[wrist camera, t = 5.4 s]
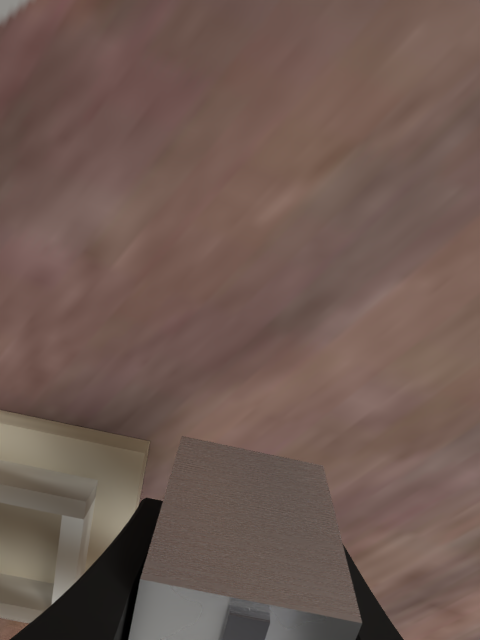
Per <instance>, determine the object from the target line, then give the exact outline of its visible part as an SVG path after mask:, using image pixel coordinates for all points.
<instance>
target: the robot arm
mask: <svg viewBox="0 0 480 640" xmlns="http://www.w3.org/2000/svg"><path fill="white" fill-rule="evenodd" d="M162 503H163V501H160V500H155V499H150V498H145V499H143V500H142V501H141V503H140V504H139V506H138V508H137V509H136V511H135V512H134V514H133V515H132V517H131V518H130V520H129V521H128V522H127V524H126V525H125V526H124V528H123V529H122V530H121V532H120V533H119V534H118V535H117V537H116V538H115V539H114V540H113V542H112V543H111V544H110V545H109V546H108V548H107V549H106V550H105V551H104V552H103V553H102V555H101V556H100V557H99V558H98V559H97V560H96V561H95V562H94V563H93V564H92V565H91V567H90V568H89V569H88V570H87V571H86V572H85V573H84V574H83V575H82V576H81V577H80V578H79V579H78V580H77V581H76V582H75V583H74V584H73V585H72V586H71V587H70V588H69V589H68V590H67V591H66V592H65V593H64V594H63V595H62V596H61V597H60V598H58V599H57V600H56V601H55V602H54V603H53V604H52V605H51V606H50V607H49V608H47V609H46V610H45V611H44V612H43V613H42V614H40V615H39V616H38V617H37V618H36V619H35V620H33V621H32V622H31V623H30V624H29V625H27V626H26V627H25V628H24V629H22V630H21V631H20V632H19V633H18V634H16V635H15V636H14V637H12V638H11V639H10V640H128V639H129V634H130V629H131V624H132V619H133V613H134V608H135V603H136V598H137V593H138V588H139V583H140V578H141V575H142V571H143V568H144V564H145V561H146V558H147V554H148V551H149V547H150V544H151V541H152V537H153V534H154V530H155V527H156V523H157V520H158V517H159V513H160V510H161V506H162ZM342 544H343V543H342ZM343 548H344V552H345V556H346V560H347V564H348V568H349V572H350V576H351V580H352V584H353V588H354V592H355V596H356V600H357V604H358V608H359V612H360V616H361V620H362V625H361V628H360V630H359V633H358V635H357V637H356V640H403V638H402V637H401V635H400V634H399V633H398V631H397V630H396V628H395V627H394V625H393V624H392V623H391V621H390V620H389V618H388V617H387V615H386V614H385V612H384V611H383V609H382V607H381V606H380V604H379V603H378V601H377V600H376V598H375V596H374V595H373V593H372V592H371V590H370V589H369V587H368V585H367V584H366V582H365V580H364V579H363V577H362V575H361V574H360V572H359V570H358V569H357V567H356V565H355V564H354V562H353V560H352V559H351V557H350V555H349V553H348V552H347V550H346V548H345V547H344V545H343Z"/></svg>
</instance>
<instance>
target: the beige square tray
mask: <svg viewBox="0 0 480 640" xmlns="http://www.w3.org/2000/svg"><path fill="white" fill-rule="evenodd" d="M149 445H150V441H146V440H141V439H136V438H131V437H127V436H122V435H117V434H112V433H108V432H103V431H98V430H93V429H88V428H84V427H79V426H74V425H69V424H65V423H60V422H55V421H50V420H45V419H41V418H36V417H31V416H26V415H22V414H17V413H12V412H7V411H2V410H0V618H4V619H9V620H14V621H19V622H24V623H31V622H32V621H33V620H35V619H36V618H37V617H38V616H39V615H40V614H42V613H43V612H44V611H45V610H46V609H47V608H49V607H50V606H51V605H52V604H53V603H54V602H55V601H56V600H57V599H58V598H60V597H61V596H62V595H63V594H64V593H65V592H66V591H67V590H68V589H69V588H70V587H71V586H72V585H73V584H74V583H75V582H76V581H77V580H78V579H79V578H80V577H81V576H82V575H83V574H84V573H85V572H86V571H87V570H88V569H89V568H90V567H91V565H92V564H93V563H94V562H95V561H96V560H97V559H98V558H99V557H100V556H101V555H102V553H103V552H104V551H105V550H106V549H107V548H108V546H109V545H110V544H111V543H112V542H113V540H114V539H115V538H116V537H117V535H118V534H119V533H120V532H121V530H122V529H123V528H124V526H125V525H126V524H127V522H128V521H129V520H130V518H131V517H132V515H133V514H134V512H135V511H136V509H137V508H138V506H139V500H140V495H141V489H142V484H143V478H144V473H145V467H146V462H147V456H148V451H149Z"/></svg>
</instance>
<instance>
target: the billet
mask: <svg viewBox="0 0 480 640" xmlns="http://www.w3.org/2000/svg"><path fill="white" fill-rule="evenodd" d="M361 625H362V620H361V616H360V612H359V608H358V604H357V600H356V596H355V592H354V588H353V584H352V580H351V576H350V572H349V568H348V564H347V560H346V556H345V552H344V548H343V544H342V540H341V536H340V532H339V528H338V524H337V520H336V515H335V511H334V507H333V503H332V499H331V495H330V491H329V487H328V483H327V479H326V475H325V471H324V467H323V466H322V465H317V464H312V463H308V462H303V461H298V460H293V459H289V458H284V457H279V456H274V455H270V454H265V453H260V452H255V451H251V450H246V449H241V448H236V447H232V446H227V445H222V444H217V443H213V442H208V441H203V440H198V439H194V438H189V437H184V436H182V438H181V441H180V445H179V448H178V452H177V455H176V459H175V462H174V465H173V469H172V472H171V476H170V479H169V482H168V486H167V489H166V493H165V496H164V500H163V503H162V506H161V510H160V513H159V517H158V520H157V523H156V527H155V530H154V534H153V537H152V541H151V544H150V547H149V551H148V554H147V558H146V561H145V564H144V568H143V571H142V575H141V578H140V583H139V588H138V593H137V598H136V603H135V608H134V613H133V619H132V624H131V629H130V634H129V639H128V640H356V637H357V635H358V633H359V630H360V628H361Z"/></svg>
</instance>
